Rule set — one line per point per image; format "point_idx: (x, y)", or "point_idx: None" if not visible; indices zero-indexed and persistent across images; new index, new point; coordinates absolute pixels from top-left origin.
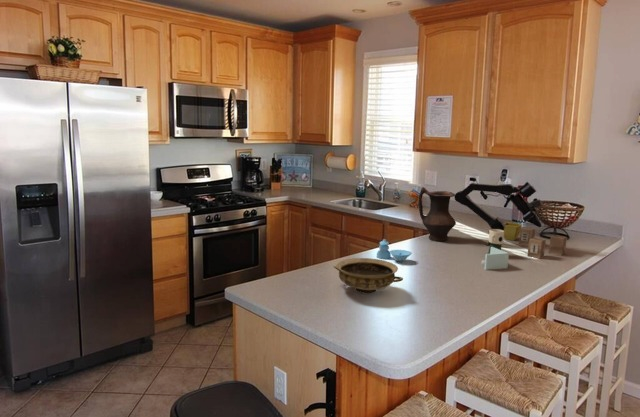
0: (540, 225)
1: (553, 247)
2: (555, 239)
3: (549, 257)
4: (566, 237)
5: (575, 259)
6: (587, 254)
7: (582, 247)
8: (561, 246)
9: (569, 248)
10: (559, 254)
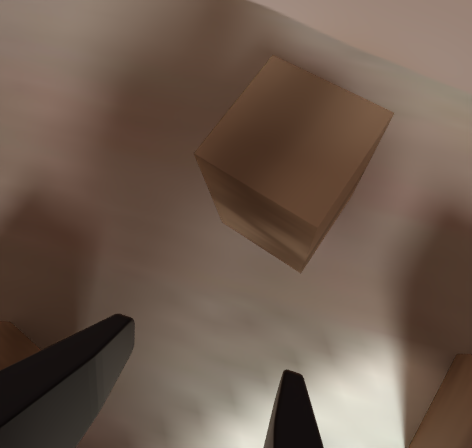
0: (305, 399)
1: (326, 229)
2: (346, 188)
3: (458, 306)
4: (280, 61)
5: (430, 123)
6: (247, 25)
7: (66, 14)
8: (367, 163)
9: (104, 89)
10: (346, 202)
